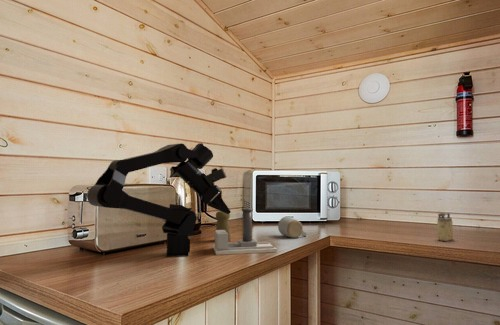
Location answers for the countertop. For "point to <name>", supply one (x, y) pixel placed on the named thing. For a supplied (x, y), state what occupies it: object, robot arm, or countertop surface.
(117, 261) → the countertop surface
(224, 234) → the press base
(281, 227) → the ceramic mug
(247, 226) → the press handle
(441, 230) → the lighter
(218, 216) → the cork
